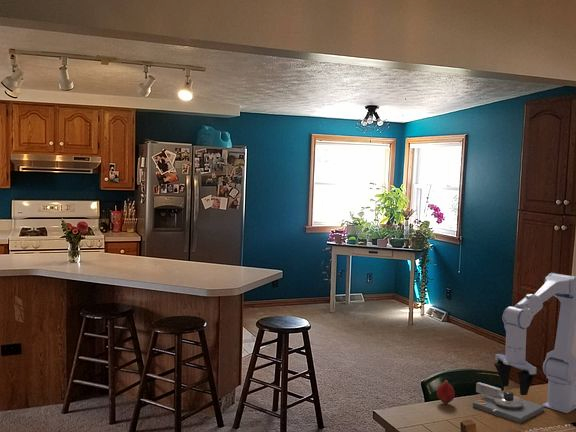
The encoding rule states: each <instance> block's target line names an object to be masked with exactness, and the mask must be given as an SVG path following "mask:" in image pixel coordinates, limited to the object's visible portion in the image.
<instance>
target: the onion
mask: <svg viewBox="0 0 576 432" xmlns="http://www.w3.org/2000/svg"><path fill="white" fill-rule="evenodd" d="M436 396H437V398H438V400H440V401H441V402H442V403H443V404H444V405H448V404H450V402H452V401H453V400H454V399H455V397H456V391H455V389H454V387H453V385H451V383H449V381H448V380H444V382H442V383H441V384H439V386H438V387H437V389H436Z"/></svg>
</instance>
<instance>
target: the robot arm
mask: <svg viewBox="0 0 576 432" xmlns="http://www.w3.org/2000/svg"><path fill="white" fill-rule="evenodd" d="M553 296H554V298H557V299H558V300H559V302H560V308H559V315H558V320H557V321H558V322H557V327H556V333H555V335H556V336H555V342H554V347H553V348H554V349H553V350H551V351H549V352H546V356H545V358H544V359H545V360H544V361H543V364H542V370H543V373H544V375H545V376H546V379H548V381H547V382H548V383H547V386H548V387H547V401H546V402H544V403H543V404H541V405H543V406H544V408H548V409H551V410H555V411H558V412H562V413H564V414H569V413H570V412H572V411H575V409H576V356H575V354H574V353H573V344H574V338H575V332H576V275H567V274H561V273H555V272H550V273H549V274H547V276H545V278H544V284H542V286H541V287H539V289H538V290H537V291H536V292H535V293H534V294H533V293H527V294H526V295H525V297H524V298H522V299H521V300H519V301H518V303H516V304H515V305H514V306H508V307H506V308H505V309H504V310H503V313H502V316H501V319H502V321H503V324H504V326H503V327H504V330H505V354H502V353H496V354H495V355H494V358H495V359H494V360H495V361H497V362H495V363H494V367H495V368H496V371H497V374H498V376H499V379H500V384H501V387H502V388H504V387H509V385H510V374H511V371H512V367H513V368H516V369H519V370H521V371H518V372H517V377H518V381H519V394H520V395H521V396H526V395H528V393H529V390H530V388H531V387H530V386H531V384H532V383H533V381H534V379H535V377H536V376H537V367H536V366H534V365H532V364H531V363H529V362H528V361H527V360H526V353H527V352H526V349H527V348H526V346H527V328H529V327H530V326H531V324H532V323H531V322H532V320H533V319H534V316H535V315H536V314H537V313H538V312H540V311H541V310H542V309H543V307H544V304H543V303H545V302H546V301H548V300H549V299H550V298H552V297H553Z"/></svg>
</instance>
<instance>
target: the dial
mask: <svg viewBox="0 0 576 432" xmlns="http://www.w3.org/2000/svg"><path fill="white" fill-rule="evenodd" d="M475 384H476V386H475V392H476V393H477V394H481V395H484V396H490V397H494V403H495V404H496V405H498V406H500V407H504V408H508V409H520V408H522V407H523V400H524V399H523V400H522V398H521V397H519V396H517V395H514V392H512V391H508V390H507V391H506V390H505V391H503V393H504V394H501V393H502V388H500V387H497V386H493V385H490V384H486V383H484V382H483V383H482V382H480V381H479V382H476V383H475Z"/></svg>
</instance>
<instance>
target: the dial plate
mask: <svg viewBox="0 0 576 432" xmlns="http://www.w3.org/2000/svg"><path fill="white" fill-rule="evenodd" d="M501 394H504V392H501ZM521 399H522V398H521ZM522 400H523V407H522V408H520V409H508V408H504V407H500V406H498V405H496V404H495V403H494V397H490V396H487V395H485V397H484V396H483V397H482V398H479V399H478V400H475V401H473V402H472V408H474V409H477V410H480V411H483V412H486V413H489V414H492V415H495V416H498V417H501V418H505V419H507V420H508V421H512V422H515V423H519V424H521V423H523V422H525V421H527V420H529V419H530V418H532V417H534V416H536V415H539V414H540V413H542V412H544V411H545V406H543V405H542V404H540V403H536V402H532V401H529V400H525V399H522Z"/></svg>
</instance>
